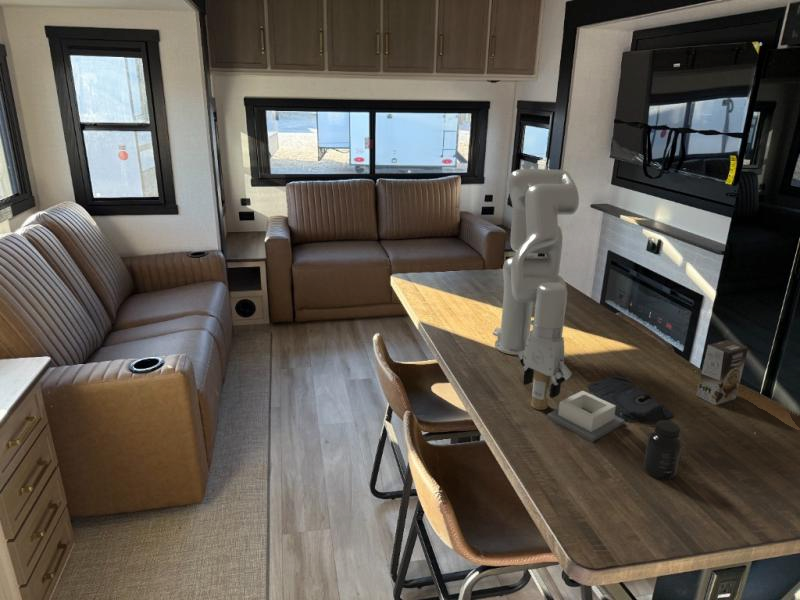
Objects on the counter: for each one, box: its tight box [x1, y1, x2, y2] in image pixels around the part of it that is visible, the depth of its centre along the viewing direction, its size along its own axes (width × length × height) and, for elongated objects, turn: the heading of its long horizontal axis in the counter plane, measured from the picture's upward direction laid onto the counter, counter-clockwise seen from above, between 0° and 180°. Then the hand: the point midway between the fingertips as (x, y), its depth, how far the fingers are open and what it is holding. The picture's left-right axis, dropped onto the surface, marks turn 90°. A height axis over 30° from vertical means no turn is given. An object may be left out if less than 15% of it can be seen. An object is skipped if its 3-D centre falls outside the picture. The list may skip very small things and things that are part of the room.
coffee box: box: [696, 339, 749, 406], centre depth 160 cm, size 9×6×16 cm
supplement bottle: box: [643, 419, 683, 481], centre depth 127 cm, size 7×7×12 cm
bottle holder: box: [546, 390, 626, 443], centre depth 148 cm, size 14×14×5 cm
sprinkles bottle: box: [530, 370, 551, 411], centre depth 153 cm, size 5×5×14 cm
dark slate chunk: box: [586, 375, 674, 424], centre depth 158 cm, size 15×22×5 cm
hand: (540, 389), depth 154 cm, fingers open, 8 cm apart
